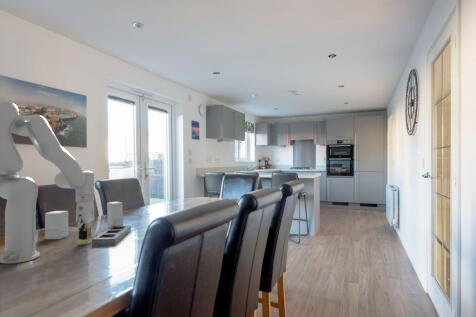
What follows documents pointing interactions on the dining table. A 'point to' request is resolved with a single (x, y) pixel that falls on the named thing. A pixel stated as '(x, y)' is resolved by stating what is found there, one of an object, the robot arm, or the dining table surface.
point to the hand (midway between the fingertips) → (84, 237)
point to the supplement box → (56, 225)
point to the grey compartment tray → (111, 236)
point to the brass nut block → (88, 240)
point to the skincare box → (114, 214)
